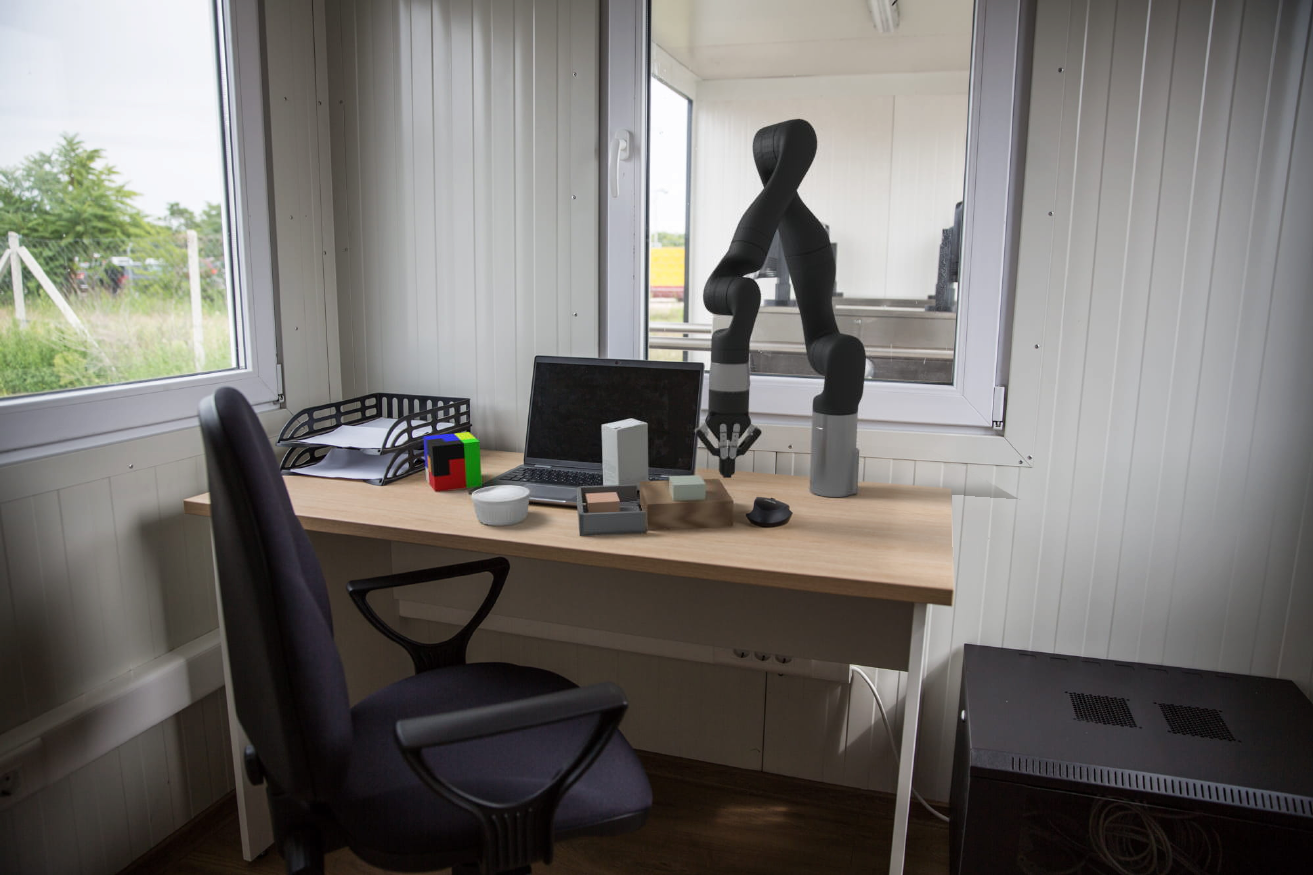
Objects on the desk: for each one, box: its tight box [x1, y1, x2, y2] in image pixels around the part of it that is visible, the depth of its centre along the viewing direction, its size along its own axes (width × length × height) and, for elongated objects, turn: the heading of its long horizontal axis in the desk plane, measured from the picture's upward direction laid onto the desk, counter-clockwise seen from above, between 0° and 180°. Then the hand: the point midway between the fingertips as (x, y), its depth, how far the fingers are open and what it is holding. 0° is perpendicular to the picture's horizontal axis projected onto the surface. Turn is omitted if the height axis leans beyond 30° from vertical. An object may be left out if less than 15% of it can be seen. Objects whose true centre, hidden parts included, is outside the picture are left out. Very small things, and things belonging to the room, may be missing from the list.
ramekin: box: [471, 484, 531, 527], centre depth 167 cm, size 11×11×5 cm
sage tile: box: [668, 474, 706, 501], centre depth 164 cm, size 6×6×3 cm
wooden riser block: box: [639, 478, 735, 531], centre depth 168 cm, size 16×15×5 cm
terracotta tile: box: [586, 492, 620, 513], centre depth 169 cm, size 6×6×3 cm
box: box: [576, 484, 647, 537], centre depth 167 cm, size 12×18×4 cm, turn 6°
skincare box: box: [601, 418, 649, 490], centre depth 183 cm, size 8×6×15 cm
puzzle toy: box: [423, 431, 483, 493], centre depth 190 cm, size 10×10×10 cm
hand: (726, 476), depth 165 cm, fingers closed
